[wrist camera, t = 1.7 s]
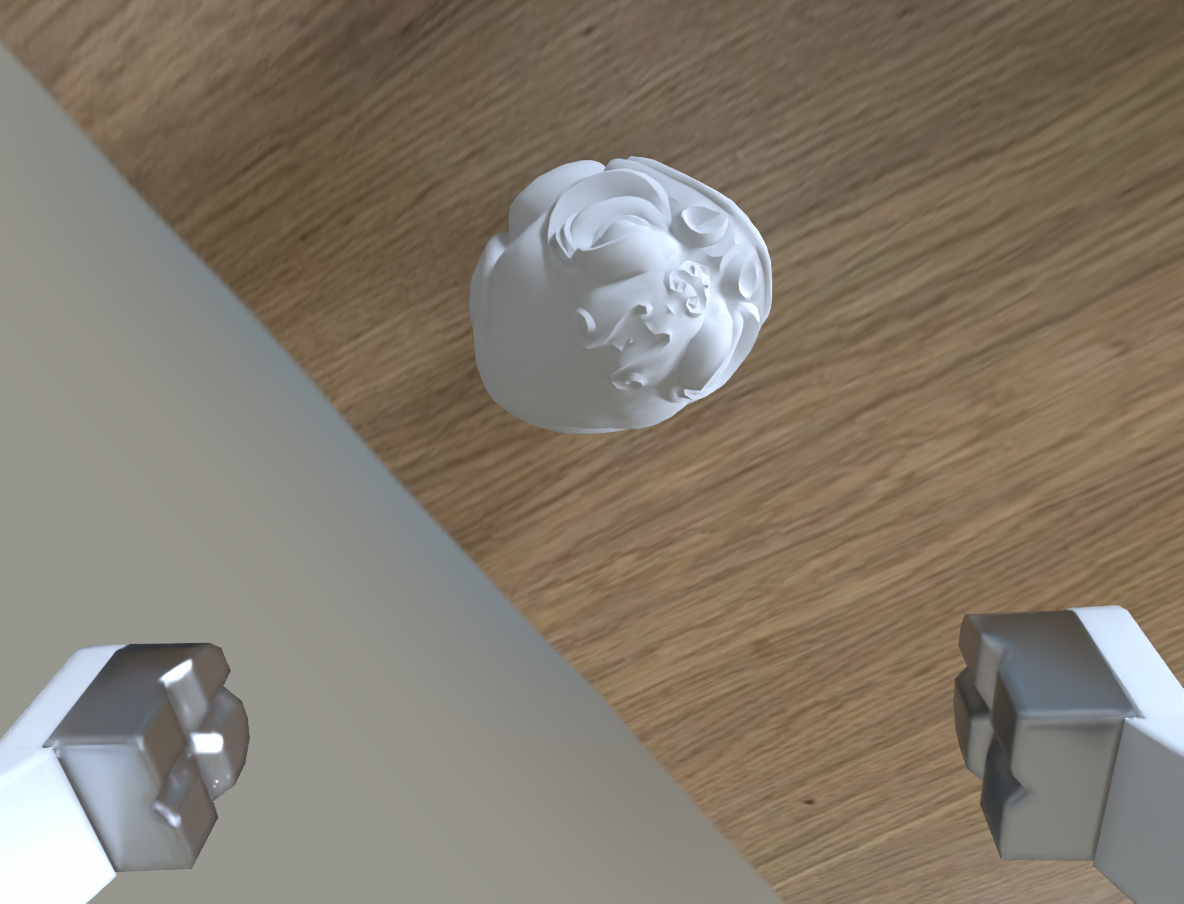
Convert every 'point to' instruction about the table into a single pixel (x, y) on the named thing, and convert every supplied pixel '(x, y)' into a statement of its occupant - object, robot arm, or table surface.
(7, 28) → the table surface
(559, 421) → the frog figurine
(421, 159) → the table surface
